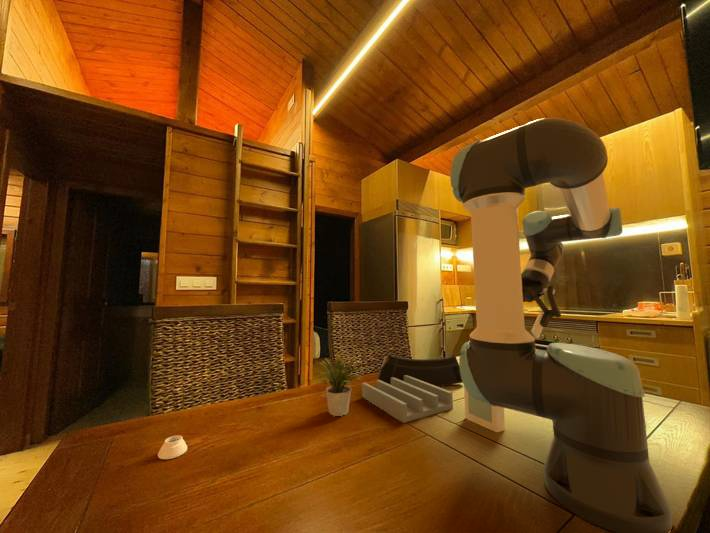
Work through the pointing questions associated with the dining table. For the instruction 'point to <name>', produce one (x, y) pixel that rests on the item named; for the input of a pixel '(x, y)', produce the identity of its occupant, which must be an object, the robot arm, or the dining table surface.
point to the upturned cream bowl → (172, 448)
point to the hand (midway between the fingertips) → (508, 331)
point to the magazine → (421, 370)
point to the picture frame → (484, 413)
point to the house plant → (339, 385)
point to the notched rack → (408, 398)
